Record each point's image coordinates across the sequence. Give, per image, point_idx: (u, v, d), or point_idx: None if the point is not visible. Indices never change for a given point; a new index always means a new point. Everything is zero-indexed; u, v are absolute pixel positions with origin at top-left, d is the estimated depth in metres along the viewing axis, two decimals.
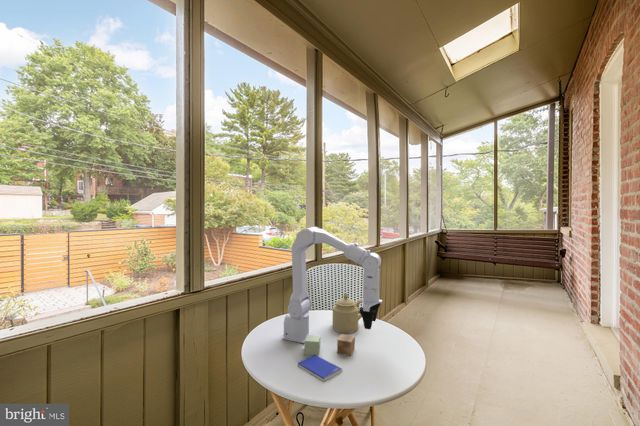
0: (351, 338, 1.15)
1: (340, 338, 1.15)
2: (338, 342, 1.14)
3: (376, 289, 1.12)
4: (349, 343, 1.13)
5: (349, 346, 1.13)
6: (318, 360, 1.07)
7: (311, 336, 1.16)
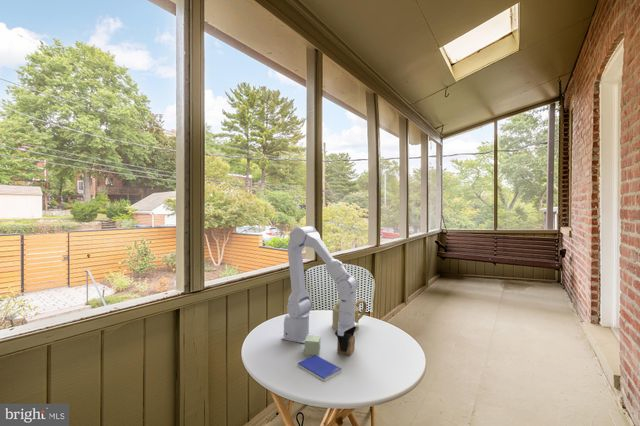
0: (351, 337, 1.15)
1: None
2: (338, 342, 1.14)
3: (351, 313, 1.13)
4: (349, 343, 1.13)
5: (349, 346, 1.13)
6: (318, 360, 1.07)
7: (311, 336, 1.16)
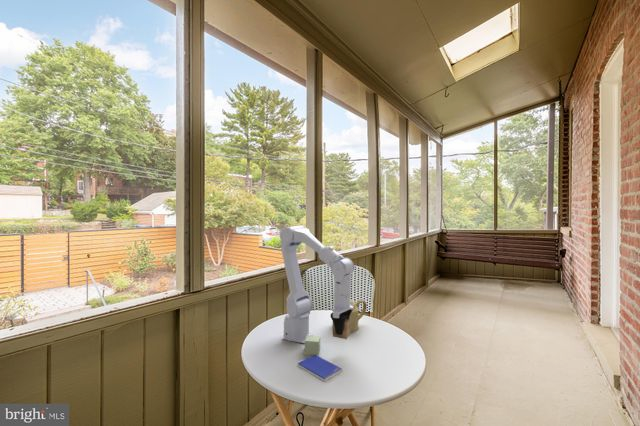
0: (346, 321, 1.13)
1: None
2: (333, 325, 1.11)
3: (347, 295, 1.10)
4: (345, 326, 1.10)
5: (345, 329, 1.10)
6: (318, 360, 1.07)
7: (311, 336, 1.16)
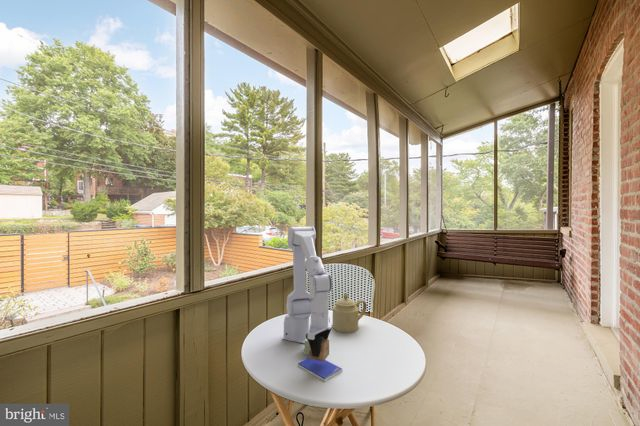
0: (324, 341, 1.04)
1: None
2: None
3: (324, 314, 1.01)
4: (322, 347, 1.01)
5: (322, 350, 1.01)
6: None
7: None
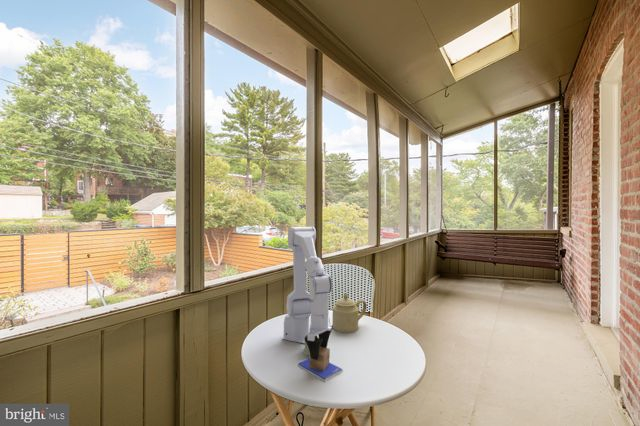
0: (325, 350, 1.04)
1: None
2: None
3: (324, 315, 1.01)
4: (322, 356, 1.01)
5: (322, 360, 1.01)
6: None
7: None
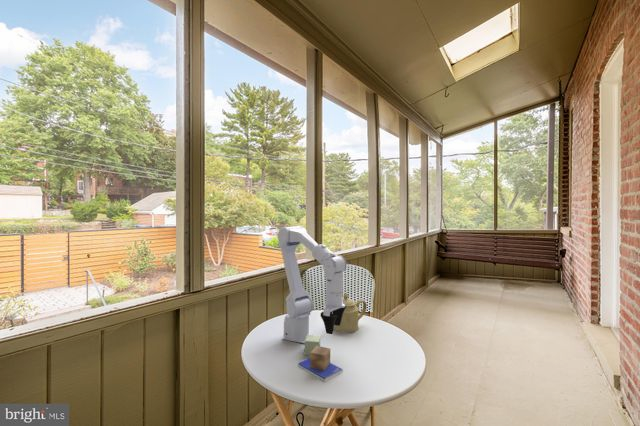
0: (326, 350, 1.04)
1: (314, 350, 1.04)
2: (311, 355, 1.03)
3: (338, 293, 1.09)
4: (323, 356, 1.01)
5: (323, 360, 1.01)
6: None
7: (311, 336, 1.16)
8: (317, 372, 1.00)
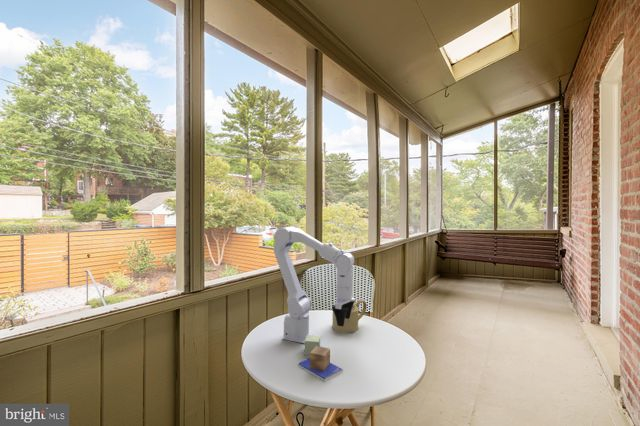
0: (325, 350, 1.04)
1: (313, 351, 1.03)
2: (311, 355, 1.02)
3: (349, 287, 1.16)
4: (322, 357, 1.01)
5: (322, 360, 1.01)
6: None
7: (311, 336, 1.16)
8: (317, 372, 1.00)
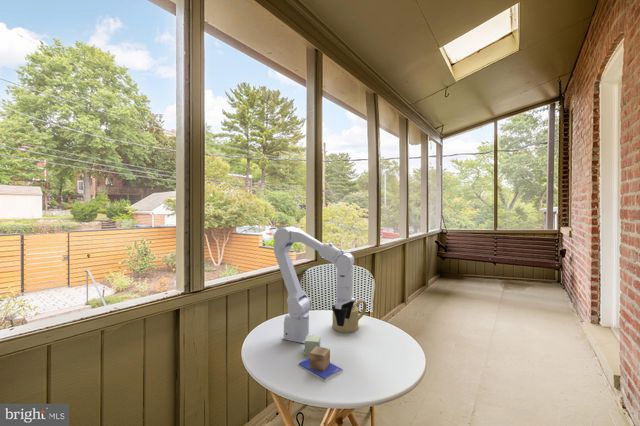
0: (325, 351, 1.04)
1: (313, 351, 1.03)
2: (310, 355, 1.02)
3: (349, 287, 1.16)
4: (322, 357, 1.01)
5: (322, 360, 1.01)
6: None
7: (311, 336, 1.16)
8: (317, 372, 1.00)
